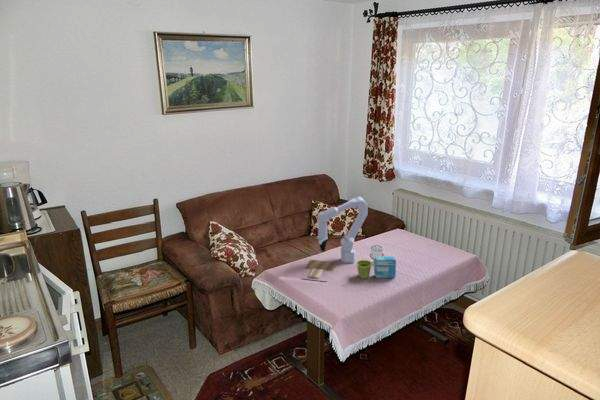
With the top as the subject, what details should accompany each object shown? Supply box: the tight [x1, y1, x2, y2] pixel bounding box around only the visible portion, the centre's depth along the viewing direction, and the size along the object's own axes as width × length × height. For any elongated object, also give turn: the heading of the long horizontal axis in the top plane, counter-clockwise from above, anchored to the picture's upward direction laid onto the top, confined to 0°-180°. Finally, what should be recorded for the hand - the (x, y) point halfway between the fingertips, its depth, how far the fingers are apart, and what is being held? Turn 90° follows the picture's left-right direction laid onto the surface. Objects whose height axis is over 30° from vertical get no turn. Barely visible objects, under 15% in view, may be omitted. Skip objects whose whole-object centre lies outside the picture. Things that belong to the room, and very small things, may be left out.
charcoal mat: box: [301, 278, 328, 283], centre depth 251 cm, size 16×12×1 cm
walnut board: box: [304, 259, 338, 272], centre depth 263 cm, size 18×13×2 cm
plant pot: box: [355, 259, 373, 279], centre depth 248 cm, size 9×9×9 cm
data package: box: [373, 256, 397, 279], centre depth 247 cm, size 12×4×12 cm, turn 89°
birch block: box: [308, 269, 324, 280], centre depth 251 cm, size 6×10×2 cm, turn 163°
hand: (323, 250), depth 265 cm, fingers closed
